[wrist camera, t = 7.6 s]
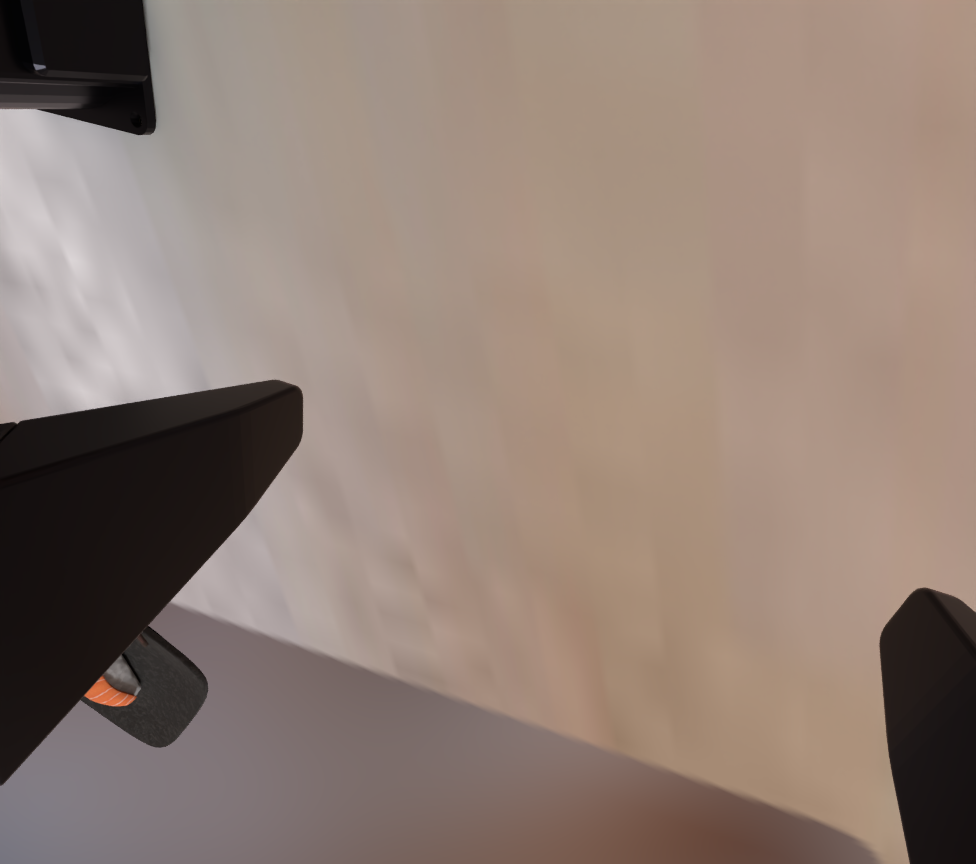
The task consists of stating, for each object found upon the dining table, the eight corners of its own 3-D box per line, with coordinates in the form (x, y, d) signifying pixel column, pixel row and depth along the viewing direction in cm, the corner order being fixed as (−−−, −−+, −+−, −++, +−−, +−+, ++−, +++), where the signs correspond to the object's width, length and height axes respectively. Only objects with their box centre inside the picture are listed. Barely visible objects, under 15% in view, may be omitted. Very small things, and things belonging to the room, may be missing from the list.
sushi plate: (-126, 517, 45) (-188, 548, 42) (-140, 184, 29) (-244, 193, 25) (180, 736, 47) (142, 782, 44) (329, 542, 31) (287, 593, 28)
